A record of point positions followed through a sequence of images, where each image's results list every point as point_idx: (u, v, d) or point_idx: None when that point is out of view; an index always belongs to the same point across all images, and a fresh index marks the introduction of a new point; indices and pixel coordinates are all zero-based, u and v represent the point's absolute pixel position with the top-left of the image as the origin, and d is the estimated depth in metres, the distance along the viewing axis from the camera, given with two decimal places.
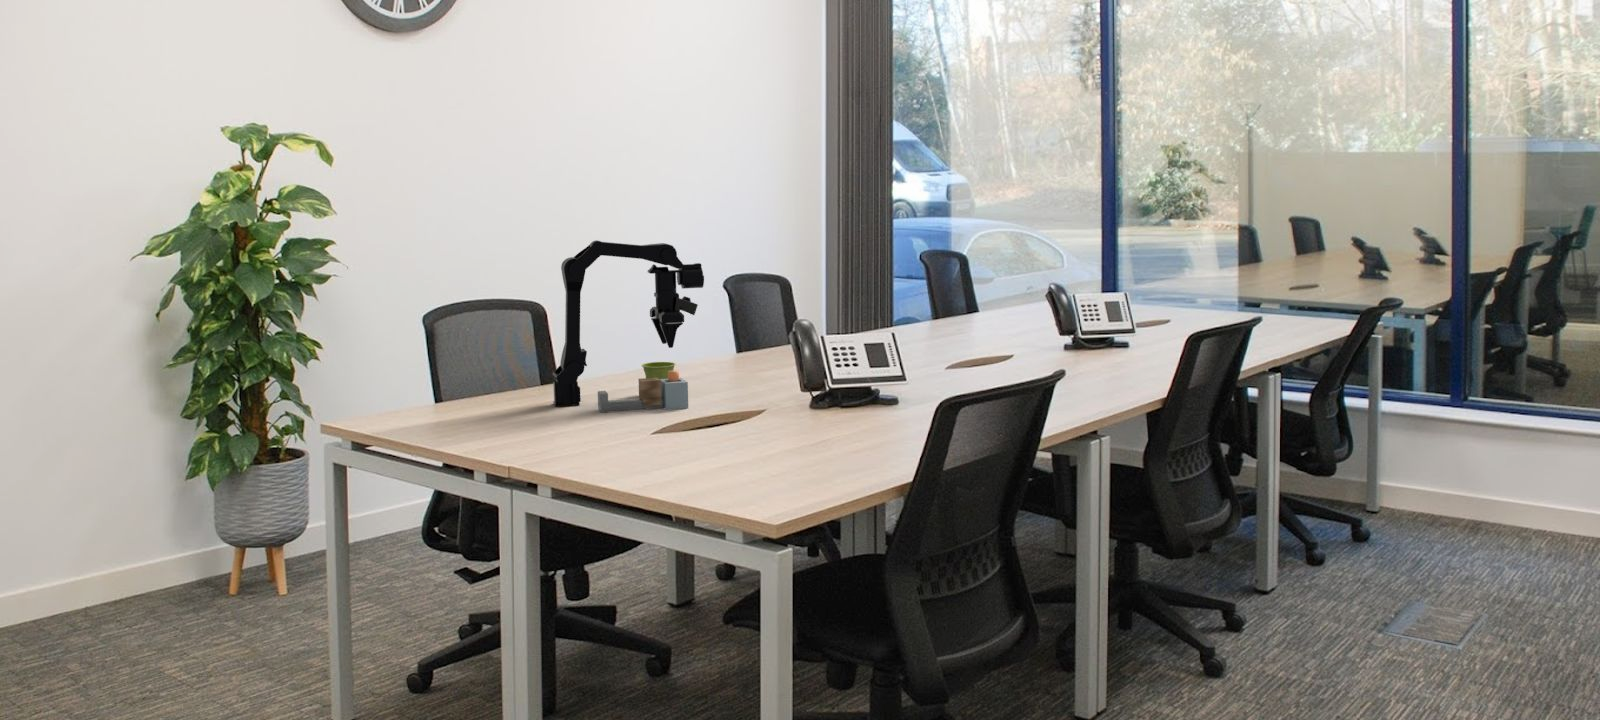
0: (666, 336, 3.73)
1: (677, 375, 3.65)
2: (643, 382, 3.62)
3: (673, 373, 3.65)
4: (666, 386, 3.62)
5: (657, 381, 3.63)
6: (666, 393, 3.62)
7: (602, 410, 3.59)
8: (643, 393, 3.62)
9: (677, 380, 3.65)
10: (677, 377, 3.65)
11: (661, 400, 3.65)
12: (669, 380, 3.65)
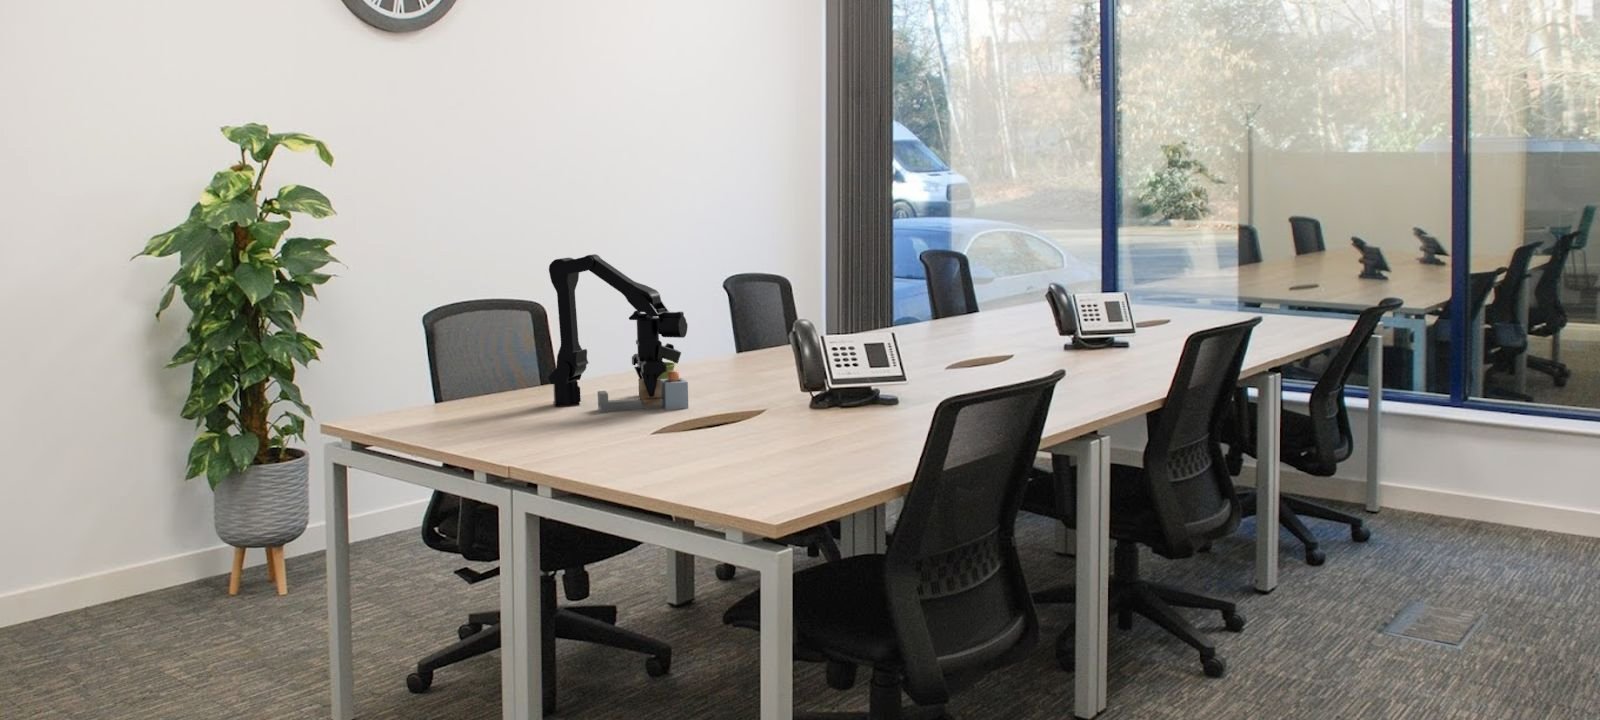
0: (646, 385, 3.61)
1: (677, 375, 3.65)
2: (643, 382, 3.62)
3: (673, 373, 3.65)
4: (666, 386, 3.62)
5: (657, 381, 3.63)
6: (666, 393, 3.62)
7: (602, 410, 3.59)
8: (643, 393, 3.62)
9: (677, 380, 3.65)
10: (677, 377, 3.65)
11: (661, 400, 3.65)
12: (669, 380, 3.65)
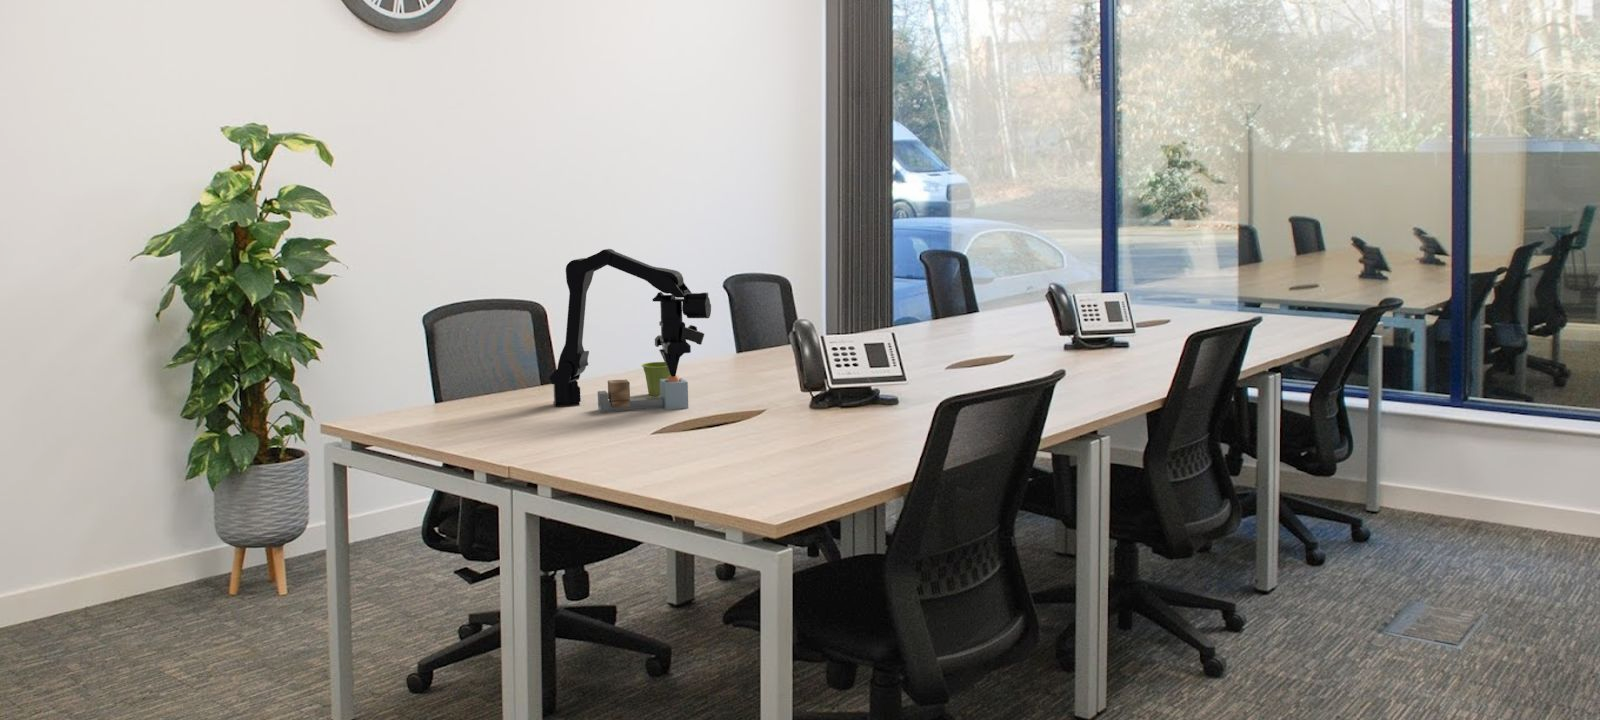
0: (668, 365, 3.64)
1: (677, 380, 3.65)
2: (612, 384, 3.59)
3: (673, 378, 3.65)
4: (666, 386, 3.62)
5: (626, 383, 3.60)
6: (666, 393, 3.62)
7: (602, 410, 3.59)
8: (612, 395, 3.60)
9: None
10: (677, 381, 3.65)
11: (661, 400, 3.65)
12: None
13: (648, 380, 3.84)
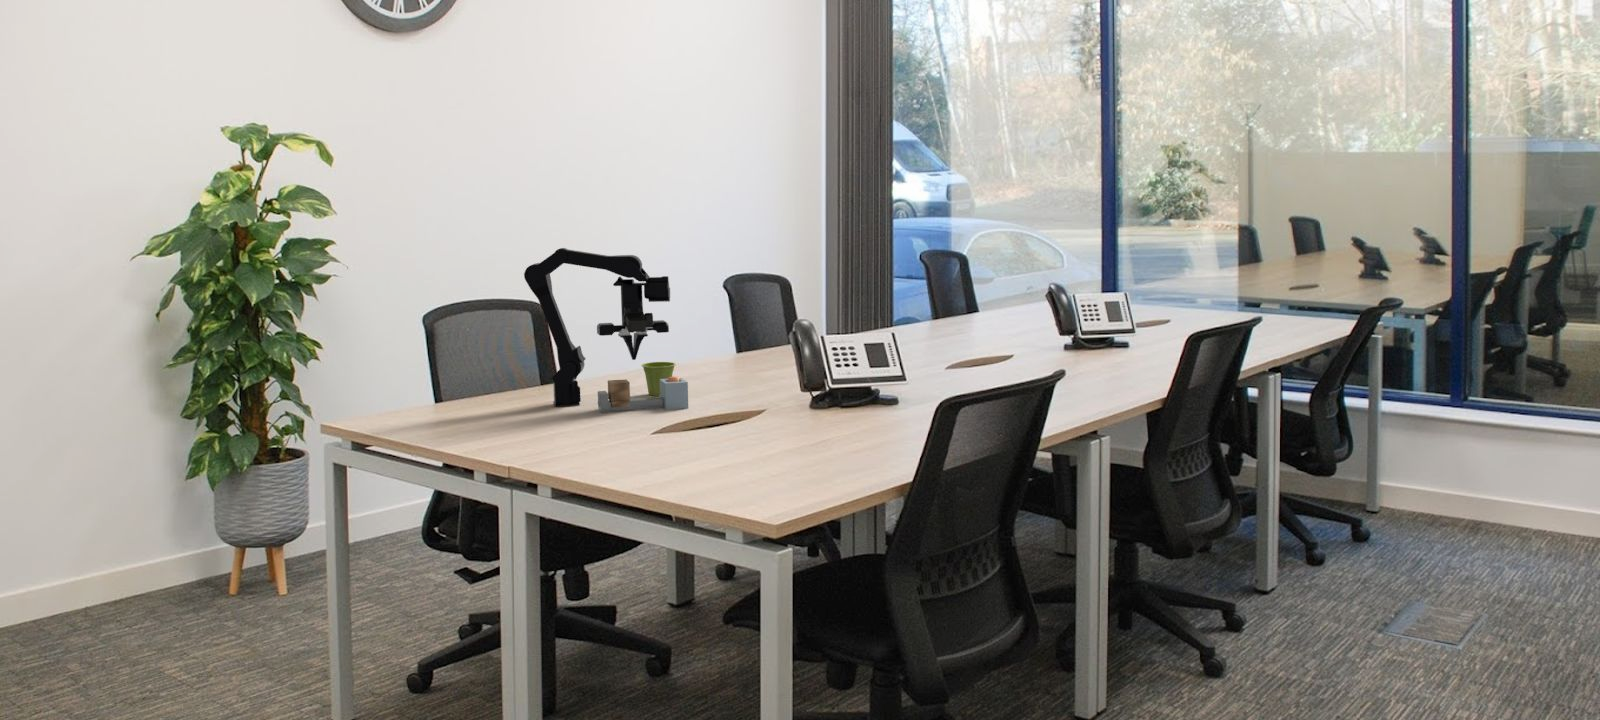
0: None
1: (677, 381, 3.66)
2: (612, 384, 3.59)
3: (673, 379, 3.65)
4: (666, 386, 3.62)
5: (626, 383, 3.60)
6: (666, 393, 3.62)
7: (602, 410, 3.59)
8: (612, 395, 3.60)
9: None
10: None
11: (661, 400, 3.65)
12: None
13: (648, 380, 3.84)
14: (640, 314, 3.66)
